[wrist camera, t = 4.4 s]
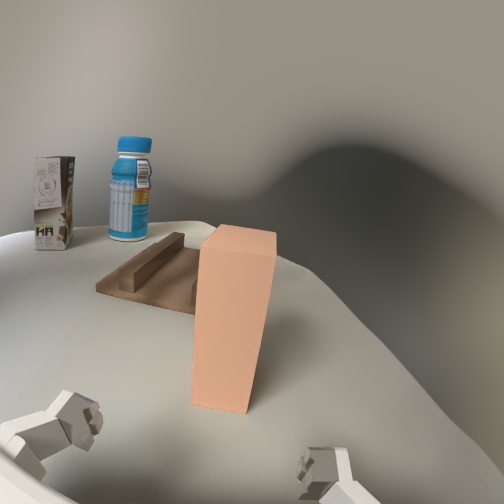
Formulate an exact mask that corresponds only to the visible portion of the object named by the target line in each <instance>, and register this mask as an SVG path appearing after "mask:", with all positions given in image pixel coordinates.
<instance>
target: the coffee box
mask: <svg viewBox="0 0 504 504" xmlns="http://www.w3.org/2000/svg"><path fill="white" fill-rule="evenodd" d="M74 163H75V157H70V156H69V157H68V156H56V157H46V158H36V168H35V188H34V224H35V244H36V250H65V249H66V247H67V245H68V244H69V242H70V240H71V238H72V236H73V226H72V223H73V222H72V205H73V178H74Z"/></svg>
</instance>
